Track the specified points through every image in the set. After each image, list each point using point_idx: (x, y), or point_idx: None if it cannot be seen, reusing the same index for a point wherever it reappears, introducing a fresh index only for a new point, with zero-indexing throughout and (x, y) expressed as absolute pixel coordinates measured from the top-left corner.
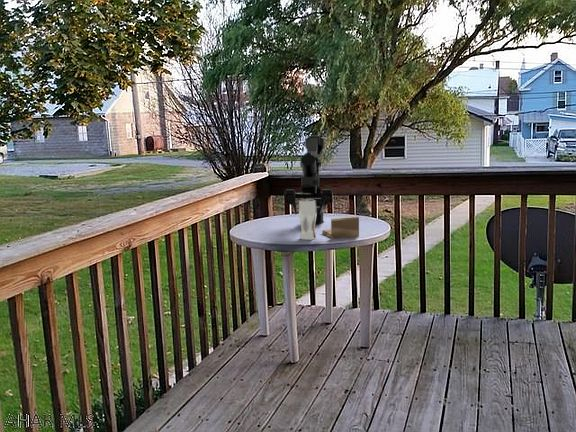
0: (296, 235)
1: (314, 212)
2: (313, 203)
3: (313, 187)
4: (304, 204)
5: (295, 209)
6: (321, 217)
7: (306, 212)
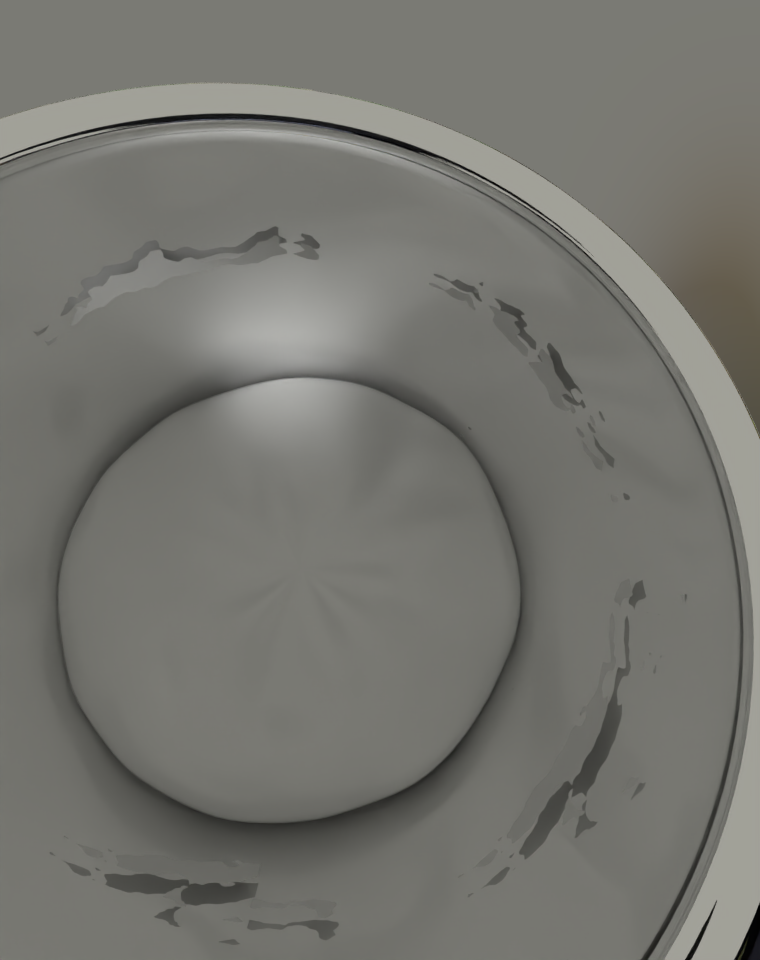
0: None
1: (144, 418)
2: (28, 255)
3: None
4: (415, 239)
5: None
6: None
7: (339, 362)
